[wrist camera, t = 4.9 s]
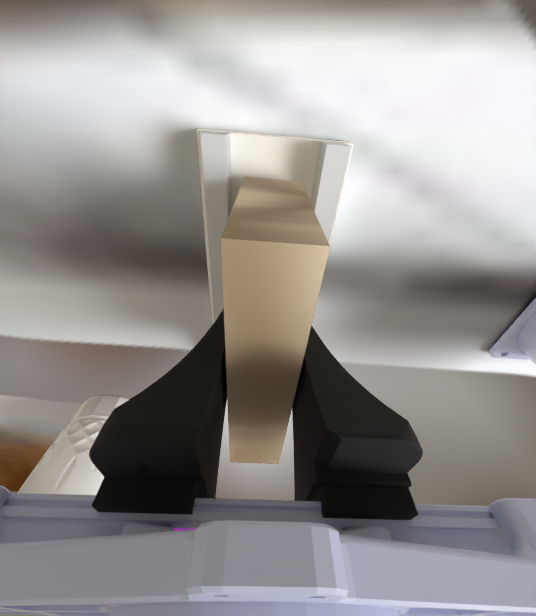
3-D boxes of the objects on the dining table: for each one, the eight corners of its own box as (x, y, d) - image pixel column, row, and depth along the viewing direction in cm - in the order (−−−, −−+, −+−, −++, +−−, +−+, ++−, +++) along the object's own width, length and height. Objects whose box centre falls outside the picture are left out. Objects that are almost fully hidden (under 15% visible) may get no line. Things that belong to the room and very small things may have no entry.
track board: (348, 141, 12) (363, 147, 10) (300, 354, 21) (304, 379, 19) (201, 128, 12) (187, 131, 10) (216, 350, 21) (211, 374, 19)
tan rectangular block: (300, 181, 11) (330, 246, 6) (275, 359, 19) (278, 463, 13) (244, 176, 11) (220, 238, 6) (241, 357, 19) (230, 462, 13)
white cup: (107, 434, 30) (49, 550, 22) (59, 396, 25) (-37, 526, 17) (169, 426, 29) (130, 546, 21) (130, 385, 24) (61, 519, 16)
